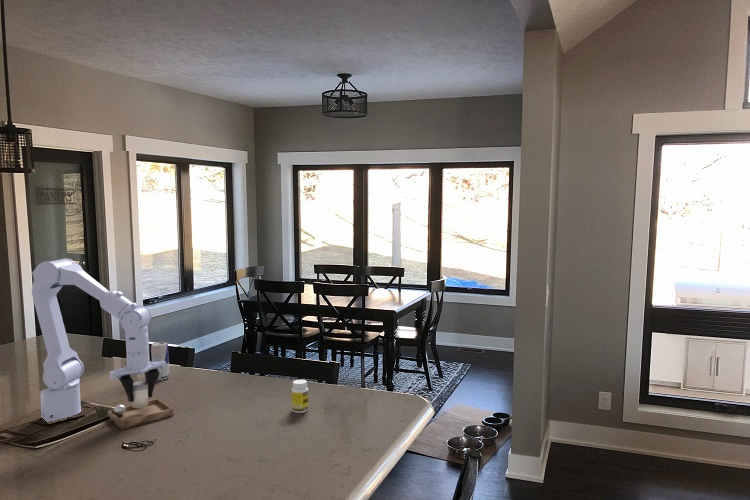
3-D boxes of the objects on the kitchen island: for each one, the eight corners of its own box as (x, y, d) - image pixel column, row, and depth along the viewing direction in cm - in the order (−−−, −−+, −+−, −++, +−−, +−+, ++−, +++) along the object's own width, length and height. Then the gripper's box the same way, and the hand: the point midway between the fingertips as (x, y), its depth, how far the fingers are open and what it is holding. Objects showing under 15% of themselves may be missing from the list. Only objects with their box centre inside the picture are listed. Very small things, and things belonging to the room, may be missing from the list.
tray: (121, 430, 142) (120, 422, 142) (107, 418, 150) (107, 411, 150) (173, 415, 151) (173, 408, 151) (158, 404, 159) (158, 398, 159)
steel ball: (116, 418, 148) (115, 407, 147) (112, 415, 150) (112, 404, 149) (127, 415, 150) (127, 404, 149) (124, 412, 152) (123, 402, 152)
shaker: (134, 409, 147) (133, 388, 147) (128, 404, 151) (127, 384, 150) (151, 405, 150) (150, 384, 150) (145, 400, 154) (144, 380, 153)
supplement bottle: (305, 413, 152) (304, 384, 151) (289, 412, 153) (289, 383, 152) (310, 407, 157) (310, 379, 156) (295, 406, 158) (294, 378, 157)
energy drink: (172, 375, 186) (170, 341, 185) (164, 381, 180) (163, 346, 179) (157, 375, 186) (155, 341, 185) (149, 380, 181) (147, 345, 180)
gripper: (114, 359, 141) (117, 409, 142) (169, 348, 151) (171, 395, 152) (106, 354, 146) (108, 402, 147) (159, 344, 156) (161, 389, 157)
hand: (140, 398), depth 150 cm, fingers closed on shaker, 4 cm apart
